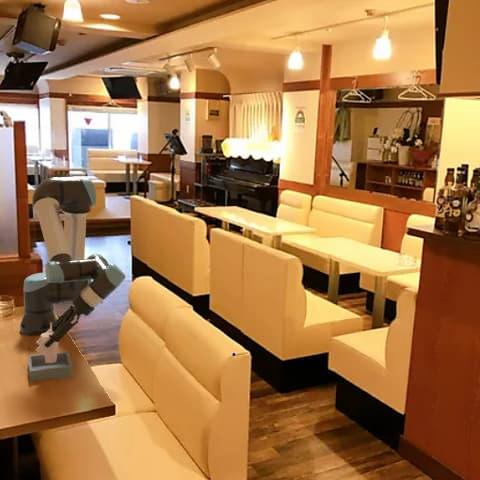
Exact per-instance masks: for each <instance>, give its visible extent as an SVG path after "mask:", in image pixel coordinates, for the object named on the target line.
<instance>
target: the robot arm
mask: <svg viewBox="0 0 480 480" xmlns="http://www.w3.org/2000/svg"><path fill="white" fill-rule="evenodd" d="M31 200H32V201H31V203H32V209H33V211H34V213H35V214H37V216H38V217H37V218H38V220H39V221H38V222H39V225H40V229H41V232H42V233H41V234H42V235H43V240H44V244H45V248H46V251H47V255H48V260H49V261H48V262H47V263H46V264H45V272H38V273H33V274H31V275H28V276H27V277H26V278H25V279H24V281H23V289H22V290H23V309H24V312H23V316H22V318H21V321H20V325H19V331H20V333H21V334H24V335H26V336H33V337H34V336H41V334H43V333H46V332H50V322H52V332H54V333H53V334H52V335H50V334H49V337H48V338H47V339H46V340H45V341H44V342H43V343H42V339H41V337H39V339H38V340H37V341H36V342H35V343H36V344H37V345H38V347H36V348H35V352H37V353H38V354H39V355H42V354H44V352H46V351H47V350H48V349H49V348H50V347H51V346H52V345H53V344H54V343H55V342H58V343H60V341H61V339H62V338H64V337H65V336H66V334H68V332H69V331H71V329H72V328H73V327H74V326H76V325H77V324H78V323H79V320H80V318H81V316H82V315H84V316H89V315H91V313H92V312H94V310H95V308H97V307H99V306H100V304H101V305H102V304H103V303H104V300H106V299H107V298H108V296H110V295H111V294H112V293H113V292H114V291H115V290H116V289H117V288H118V287H120V285H121V284H122V283H123V282H124V280H125V279H126V274H125V273H124V272H123V271H122V269H120V268H119V267H118V265H116V264H115V263H113V262H112V263H110V264H109V262H108V260H107V259H106V258H105V257H104V256H102V255H101V254H99V253H94V254H91V255H89V256H88V257H87V258H86V259H85V252H86V251H85V250H86V233H87V230H86V229H87V216H88V215H89V214H90V213H91V208H92V207H95V206H96V205H97V193H96V189H95V185H94V183H93V181H92V180H91V179H90V178H89V177H81V176H74V177H73V176H72V177H71V176H67V177H65V176H64V177H58V176H56V177H52V176H51V177H48V178H45V179H44V180H42V181H41V182H40V183H39V184H38V185H37V186H36V188H35V190H34V191H33V193H32V199H31ZM59 209H60V211H61V212H62V213H63V214H64V218H63V219H64V220H63V221H64V223H63V222H62V219H61V218H62V217H61V215H60V212H59ZM66 303H69V304H70V303H72V305H70V306H69V308H68V309H67V310H66V311H65V312H63V313H62V314H61V315H60V316H59V317H58V318H57V316H56V313H55V307H54V306H55V305H57V304H60V305H61V304H66Z"/></svg>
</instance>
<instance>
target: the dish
mask: <svg viewBox="0 0 480 480" xmlns="http://www.w3.org/2000/svg"><path fill="white" fill-rule="evenodd" d="M27 358H28V359H27V360H28V374H29V381H30V382H34V381H35V382H37V381H45V380H55V379H56V380H57V379H63V378H70V377H71V378H72V377H73V365H72V361H71V358H70V353H69V352H68V351H64V352H57V361H56V362H54V363H46V362H45V357H44V353H43V354H42V355H41V354H32V355H31V354H30V355H28V357H27Z"/></svg>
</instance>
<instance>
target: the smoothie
mask: <svg viewBox="0 0 480 480" xmlns="http://www.w3.org/2000/svg"><path fill="white" fill-rule="evenodd" d="M53 333H54V332H52V322H50V332H46V333H43V334H41V335H40V338H41V339H42V343H43V342H44V341H45V340H46V339H47V338H48V337H49V334H50V335H52V334H53ZM58 350H59V342H55V343H54V344H53V345H52V346H51V347H50V348H49V349H48V350H47V351H46V352H44V353H43V354H44V357H45V362H46V363H54V362H56V361H57V353H58Z"/></svg>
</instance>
